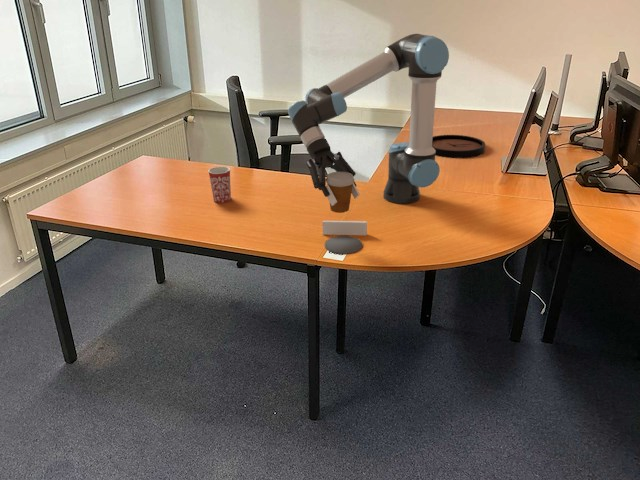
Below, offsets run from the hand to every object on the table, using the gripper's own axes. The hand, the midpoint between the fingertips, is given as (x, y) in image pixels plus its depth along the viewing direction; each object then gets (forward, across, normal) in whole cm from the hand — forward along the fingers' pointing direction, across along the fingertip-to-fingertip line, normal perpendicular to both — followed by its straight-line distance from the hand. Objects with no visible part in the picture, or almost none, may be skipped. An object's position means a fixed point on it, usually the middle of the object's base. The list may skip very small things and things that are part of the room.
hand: (346, 200), depth 176 cm
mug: (-36, +10, -61) cm, 71 cm away
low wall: (+7, -6, -17) cm, 19 cm away
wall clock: (-21, -118, -46) cm, 129 cm away
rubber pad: (+12, 0, -12) cm, 17 cm away
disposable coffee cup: (+1, 0, -6) cm, 6 cm away
